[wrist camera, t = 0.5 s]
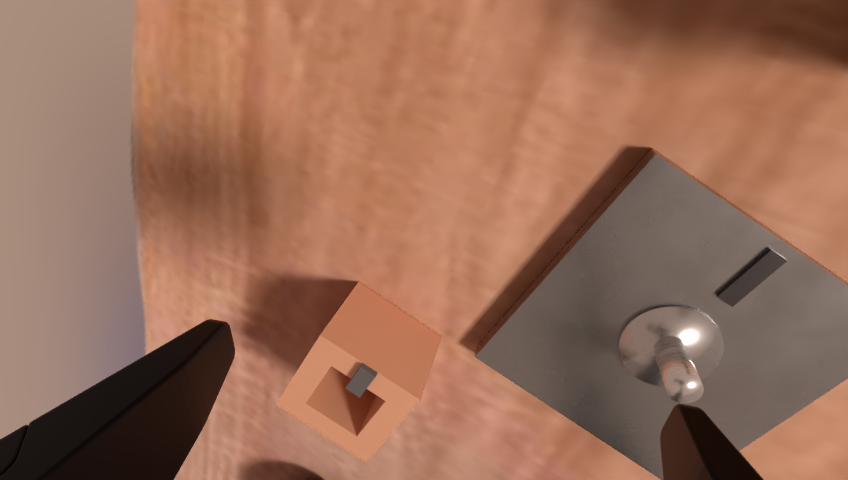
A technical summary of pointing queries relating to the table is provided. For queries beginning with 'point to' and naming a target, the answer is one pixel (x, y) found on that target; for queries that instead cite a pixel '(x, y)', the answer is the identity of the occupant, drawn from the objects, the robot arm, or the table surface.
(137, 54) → the table surface
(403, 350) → the hollow block with latch
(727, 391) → the grey square base plate
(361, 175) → the table surface
